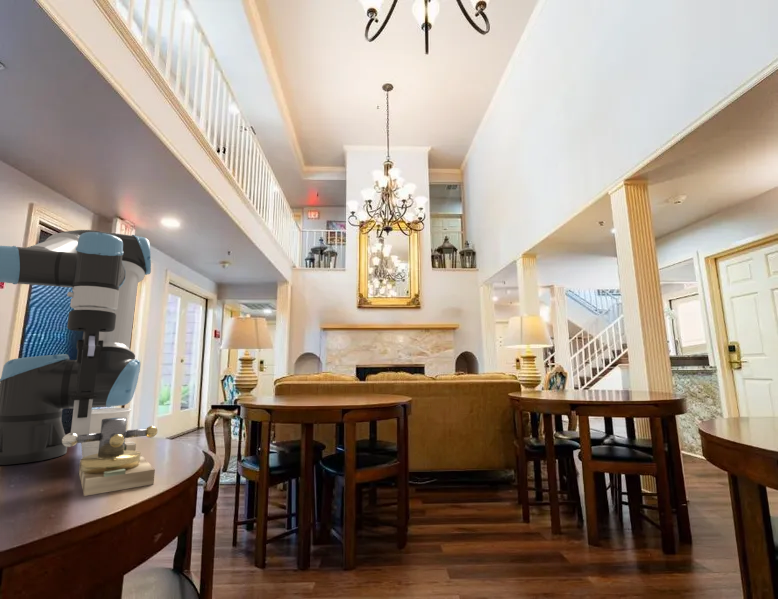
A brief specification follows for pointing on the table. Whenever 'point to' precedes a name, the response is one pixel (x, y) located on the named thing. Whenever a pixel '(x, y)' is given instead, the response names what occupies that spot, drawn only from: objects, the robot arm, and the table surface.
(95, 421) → the cup
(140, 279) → the robot arm
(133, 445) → the stand
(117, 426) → the capstan
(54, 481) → the table surface
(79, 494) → the table surface
